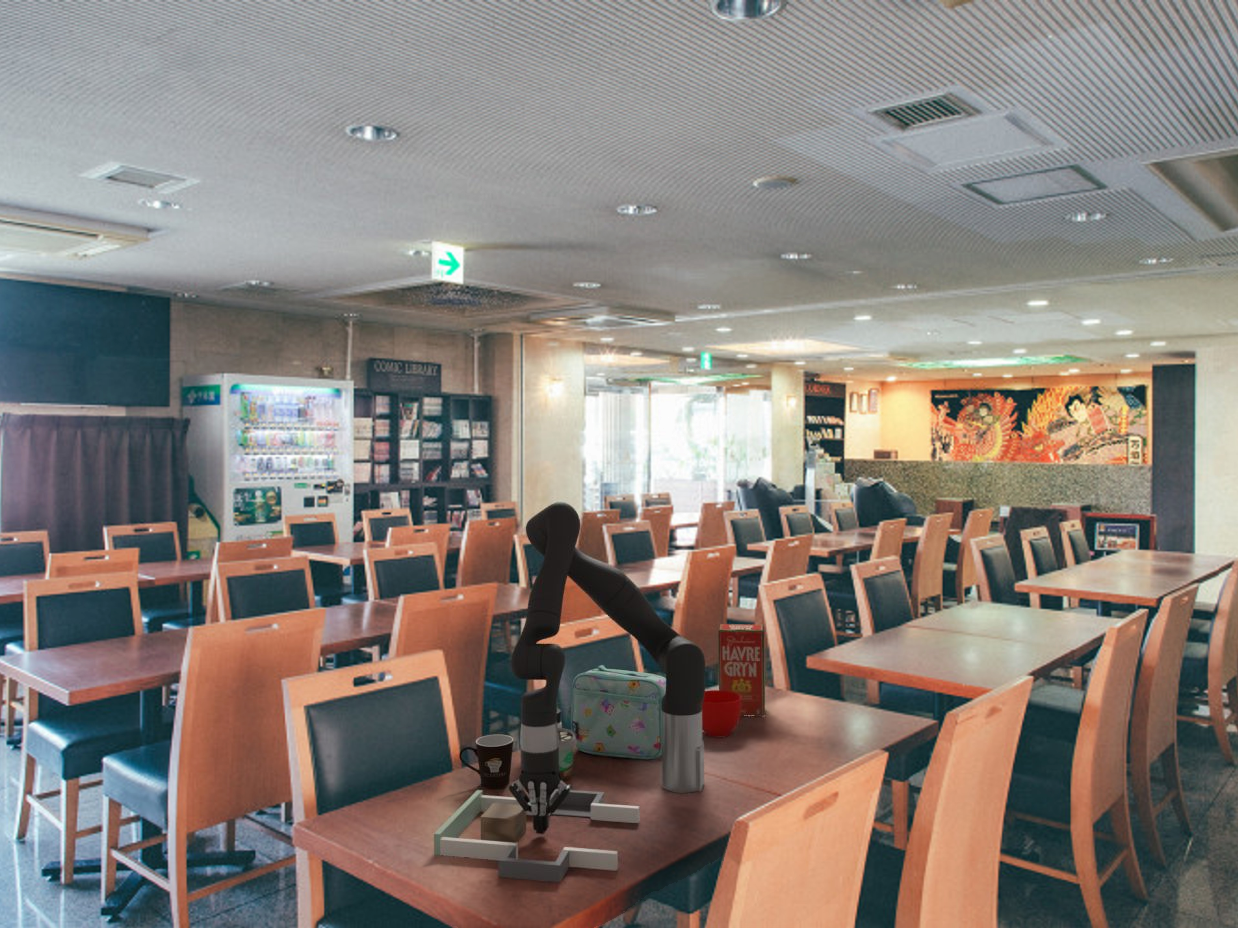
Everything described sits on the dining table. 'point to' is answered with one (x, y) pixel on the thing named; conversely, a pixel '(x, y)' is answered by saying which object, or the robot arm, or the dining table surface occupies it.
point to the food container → (566, 753)
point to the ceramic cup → (720, 712)
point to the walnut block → (503, 823)
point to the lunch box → (618, 713)
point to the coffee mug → (493, 760)
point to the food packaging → (743, 665)
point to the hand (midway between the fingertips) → (541, 831)
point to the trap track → (508, 852)
